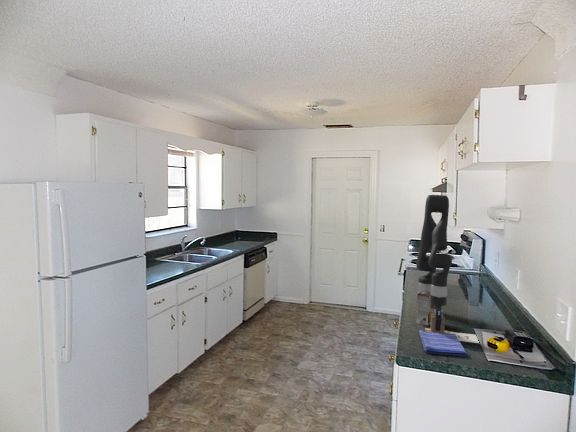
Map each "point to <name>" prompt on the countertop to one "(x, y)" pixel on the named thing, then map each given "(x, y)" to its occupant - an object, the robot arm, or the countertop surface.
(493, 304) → the countertop surface
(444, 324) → the walnut block
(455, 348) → the dish towel
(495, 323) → the countertop surface
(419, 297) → the coffee box
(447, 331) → the coaster
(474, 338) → the tile
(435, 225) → the robot arm
